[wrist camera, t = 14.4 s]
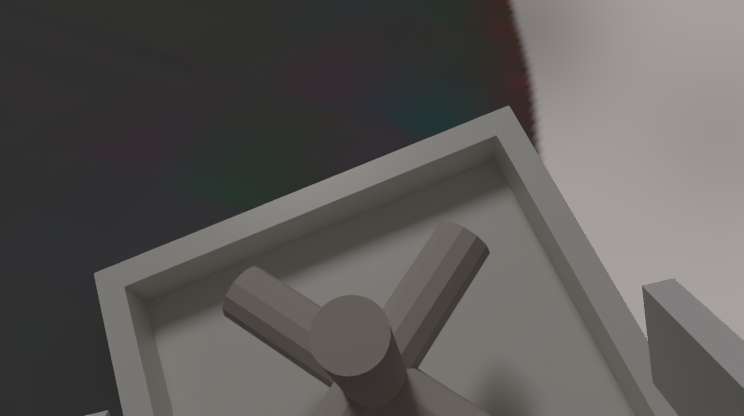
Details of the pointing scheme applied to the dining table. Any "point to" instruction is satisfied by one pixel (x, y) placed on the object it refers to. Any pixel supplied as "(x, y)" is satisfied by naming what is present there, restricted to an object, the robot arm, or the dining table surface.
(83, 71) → the dining table surface
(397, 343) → the pipe connector
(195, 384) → the tray
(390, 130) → the dining table surface
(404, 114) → the dining table surface
